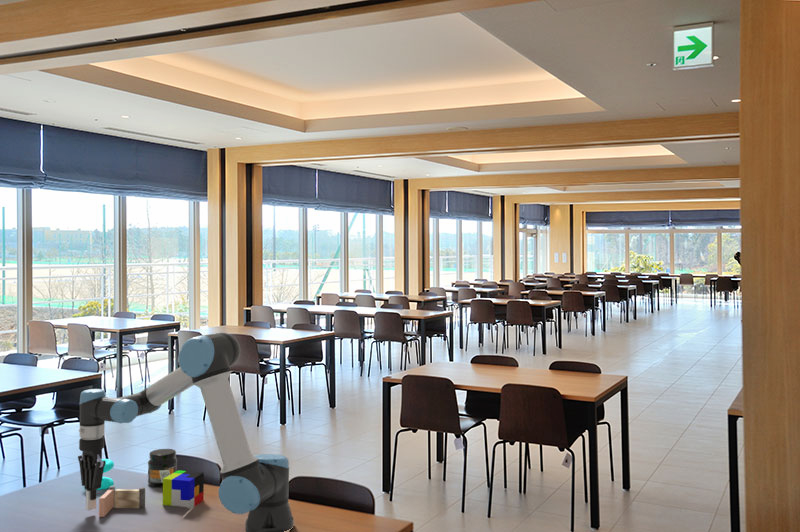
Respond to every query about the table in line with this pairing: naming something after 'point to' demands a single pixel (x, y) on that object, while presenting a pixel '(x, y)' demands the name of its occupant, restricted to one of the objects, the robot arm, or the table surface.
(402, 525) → the table surface
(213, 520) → the table surface
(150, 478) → the supplement container
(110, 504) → the salmon gate panel
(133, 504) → the rail
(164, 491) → the puzzle toy
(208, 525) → the table surface
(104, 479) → the donuts
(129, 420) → the robot arm
